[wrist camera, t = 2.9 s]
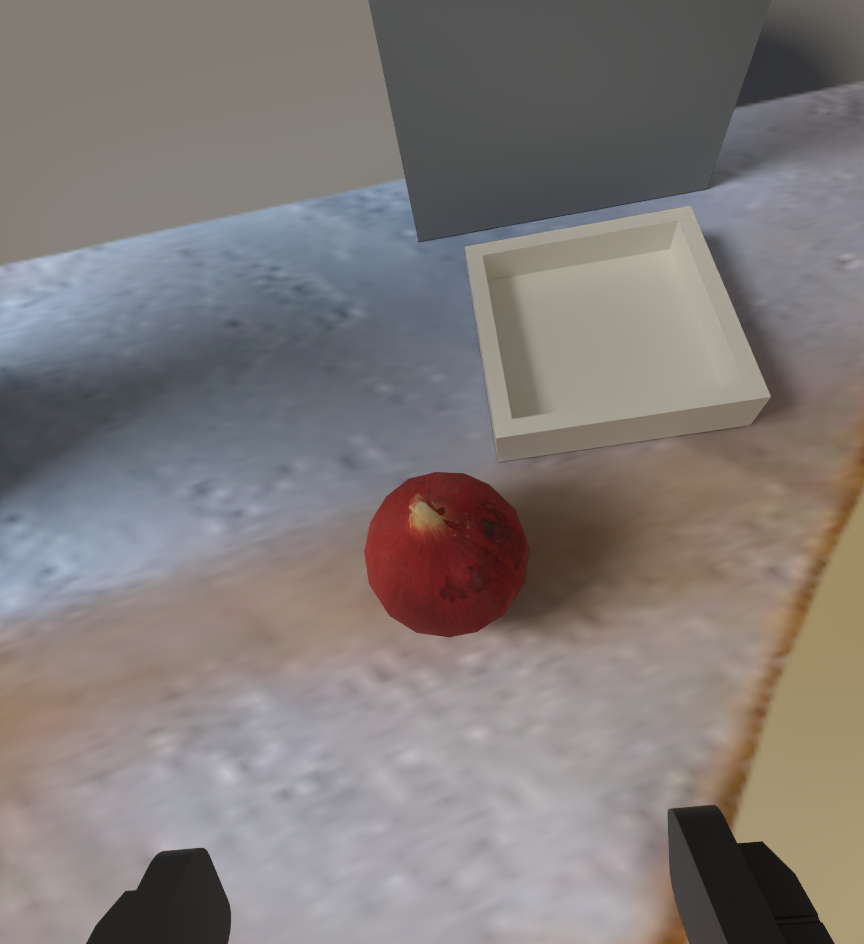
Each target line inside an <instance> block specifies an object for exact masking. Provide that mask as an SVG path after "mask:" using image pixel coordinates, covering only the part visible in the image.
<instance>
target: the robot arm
mask: <svg viewBox="0 0 864 944" xmlns="http://www.w3.org/2000/svg"><path fill="white" fill-rule="evenodd" d="M668 837H669V864H670V877H671V883H672V888H673V893H674V897H675V901H676V904H677V908H678V911H679V915H680V918H681V921H682V923H683V926H684V929H685V932H686V935H687V938H688V941H689V943H690V944H834V942H833V940H832V939H831V937H830V935H829V933H828V931H827V930H826V928H825V926H824V925H823V923H821V922H820V920H819V918H818V914H817V912H816V910H815V908H814V907H813V905H812V903H811V901H810V900H809V898H808V896H807V894H806V892H805V891H804V889H803V887H802V886H801V884H800V882H799V880H798V878H797V877H796V875H795V873H794V872H793V871H792V870H791V869H790V868H788V867H787V866H786V865H785V864H784V863H783V862H782V861H781V860H780V859H779V858H778V857H777V856H776V855H775V854H774V853H773V852H772V851H771V850H770V849H769V848H768V847H767V846H766V845H765V844H764V843H763V842H750V843H738V844H737V842H736V840H735V838H734V836H733V834H732V832H731V830H730V828H729V826H728V824H727V822H726V820H725V818H724V816H723V814H722V812H721V811H720V809H719V808H718V807H717V806H716V805H707V806H696V807H685V808H673V809H669V810H668ZM230 927H231V910H230V904H229V901H228V899H227V896H226V894H225V892H224V889H223V887H222V884H221V882H220V880H219V877H218V875H217V872H216V870H215V867H214V865H213V863H212V860H211V858H210V855H209V853H208V851H207V850H206V849H204V848H194V849H182V850H171V851H162V852H160V853H158V854H157V855H156V856H155V857H154V859H153V860H152V861H151V863H150V865H149V867H148V869H147V870H146V872H145V874H144V876H143V878H142V880H141V882H140V884H139V886H138V888H137V890H134V891H125V892H124V893H123V894H122V896H121V897H120V898H119V899H118V900H117V901H116V903H115V904H114V905H113V906H112V907H111V908H110V910H109V911H108V912H107V913H106V914H105V915H104V917H103V918H102V919H101V920H100V921H99V922H98V923H97V925H96V926H95V928H94V930H93V932H92V934H91V936H90V937H89V939H88V941H87V943H86V944H228V940H229V935H230Z"/></svg>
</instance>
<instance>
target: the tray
mask: <svg viewBox="0 0 864 944" xmlns="http://www.w3.org/2000/svg"><path fill="white" fill-rule="evenodd" d="M465 254H466V263H467V271H468V280H469V286H470V292H471V299H472V305H473V311H474V317H475V323H476V330H477V336H478V342H479V348H480V354H481V361H482V367H483V373H484V379H485V385H486V392H487V398H488V404H489V410H490V416H491V422H492V429H493V435H494V441H495V447H496V453H497V460H498V462H503V461H509V460H516V459H523V458H530V457H537V456H543V455H550V454H557V453H564V452H571V451H578V450H584V449H591V448H598V447H605V446H612V445H618V444H625V443H632V442H639V441H646V440H653V439H659V438H666V437H673V436H680V435H687V434H693V433H700V432H707V431H714V430H721V429H728V428H734V427H741V426H748V425H751V423H752V422H753V421H754V419H755V418H756V417H757V415H758V414H759V413H760V411H761V410H762V409H763V407H764V406H765V404H766V403H767V402H768V400H769V399H770V398H771V396H770V393H769V391H768V388H767V386H766V384H765V381H764V379H763V377H762V374H761V372H760V369H759V367H758V365H757V362H756V360H755V358H754V355H753V353H752V350H751V348H750V346H749V343H748V341H747V339H746V336H745V334H744V331H743V329H742V327H741V324H740V322H739V319H738V317H737V315H736V312H735V310H734V308H733V305H732V303H731V300H730V298H729V296H728V293H727V291H726V289H725V286H724V284H723V281H722V279H721V277H720V274H719V272H718V270H717V267H716V265H715V262H714V260H713V258H712V255H711V253H710V250H709V248H708V246H707V243H706V241H705V239H704V236H703V234H702V231H701V229H700V227H699V224H698V222H697V220H696V217H695V215H694V212H693V210H692V208H691V206H685V207H680V208H674V209H669V210H663V211H658V212H652V213H647V214H641V215H636V216H630V217H625V218H619V219H614V220H608V221H603V222H597V223H592V224H586V225H580V226H575V227H569V228H564V229H558V230H553V231H547V232H542V233H536V234H531V235H525V236H520V237H514V238H509V239H503V240H498V241H492V242H487V243H481V244H476V245H470V246H465Z"/></svg>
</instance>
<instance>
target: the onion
mask: <svg viewBox="0 0 864 944" xmlns="http://www.w3.org/2000/svg"><path fill="white" fill-rule="evenodd" d="M528 551H529V547H528V543H527V540H526V538H525V535H524V532H523V529H522V527H521V524H520V521H519V519H518V516H517V513H516V510H515V509H514V508H513V507H512V506H511V505H510V504H509V503H508V502H507V501H506V500H505V499H504V498H503V497H502V496H501V495H500V494H498V493H497V492H496V491H495V490H494V489H493V488H492V487H491V486H490V485H489V484H486V483H484V482H482V481H480V480H477V479H475V478H473V477H471V476H468V475H466V474H463V473H442V472H435V473H431V474H427V475H423V476H419V477H415V478H411V479H408V480H407V481H405V482H404V483H403V484H402V485H400V486H399V487H398V488H397V489H395V490H394V491H393V492H392V493H390V494H389V495H388V496H387V497H386V498H385V500H384V501H383V503H382V504H381V506H380V508H379V509H378V511H377V512H376V514H375V516H374V517H373V519H372V521H371V522H370V527H369V532H368V537H367V542H366V547H365V559H366V566H367V573H368V579H369V584H370V586H371V588H372V589H373V591H374V593H375V594H376V596H377V597H378V599H379V600H380V602H381V603H382V605H383V607H384V608H385V610H386V611H387V613H388V614H389V616H391V617H392V618H394V619H395V620H397V621H399V622H400V623H402V624H403V625H405V626H407V627H408V628H410V629H412V630H413V631H415V632H416V633H423V634H430V635H437V636H444V637H453V636H458V635H463V634H469V633H474V632H478V631H479V630H481V629H482V628H484V627H485V626H487V625H488V624H490V623H491V622H493V621H495V620H496V619H498V618H499V617H501V616H502V615H504V613H505V612H506V611H507V609H508V608H509V606H510V604H511V603H512V601H513V600H514V598H515V597H516V595H517V594H518V592H519V591H520V589H521V588H522V586H523V585H524V583H525V578H526V569H527V560H528Z"/></svg>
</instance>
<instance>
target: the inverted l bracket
mask: <svg viewBox="0 0 864 944" xmlns="http://www.w3.org/2000/svg"><path fill="white" fill-rule="evenodd" d="M770 1H771V0H369V5H370V10H371V14H372V19H373V24H374V29H375V34H376V39H377V43H378V48H379V53H380V58H381V63H382V68H383V72H384V77H385V82H386V87H387V91H388V96H389V101H390V106H391V110H392V116H393V121H394V125H395V130H396V135H397V140H398V145H399V150H400V154H401V159H402V164H403V169H404V174H405V179H406V184H407V188H408V193H409V198H410V203H411V208H412V213H413V217H414V222H415V227H416V232H417V237H418V242H420V241H425V240H431V239H436V238H442V237H447V236H453V235H458V234H463V233H469V232H474V231H480V230H485V229H491V228H496V227H502V226H507V225H513V224H518V223H523V222H529V221H534V220H540V219H545V218H551V217H556V216H562V215H567V214H573V213H578V212H584V211H589V210H594V209H600V208H605V207H611V206H616V205H622V204H627V203H633V202H638V201H644V200H649V199H655V198H660V197H665V196H671V195H676V194H682V193H687V192H693V191H698V190H704V189H707V187H708V184H709V181H710V178H711V175H712V172H713V170H714V167H715V164H716V161H717V158H718V155H719V152H720V149H721V146H722V143H723V140H724V137H725V134H726V131H727V128H728V125H729V122H730V120H731V117H732V114H733V111H734V108H735V104H736V101H737V99H738V96H739V93H740V90H741V87H742V84H743V81H744V78H745V75H746V72H747V69H748V66H749V63H750V60H751V58H752V55H753V51H754V49H755V46H756V43H757V40H758V37H759V34H760V31H761V28H762V25H763V22H764V19H765V16H766V14H767V10H768V8H769V5H770Z"/></svg>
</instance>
